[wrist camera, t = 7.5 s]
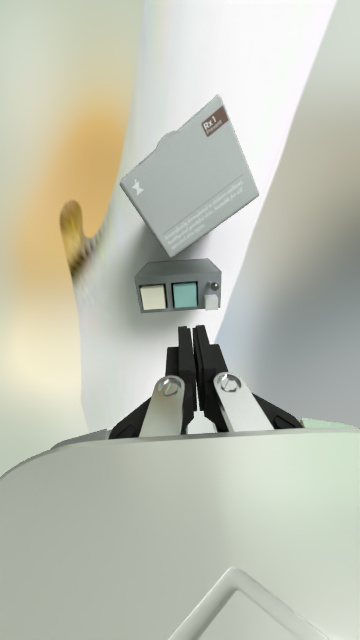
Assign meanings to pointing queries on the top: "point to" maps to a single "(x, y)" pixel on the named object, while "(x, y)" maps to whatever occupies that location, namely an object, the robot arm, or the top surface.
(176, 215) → the skincare box
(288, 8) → the top surface
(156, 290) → the cream button
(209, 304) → the grey button
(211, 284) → the metal lever
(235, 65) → the top surface
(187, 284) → the teal button
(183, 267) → the panel
